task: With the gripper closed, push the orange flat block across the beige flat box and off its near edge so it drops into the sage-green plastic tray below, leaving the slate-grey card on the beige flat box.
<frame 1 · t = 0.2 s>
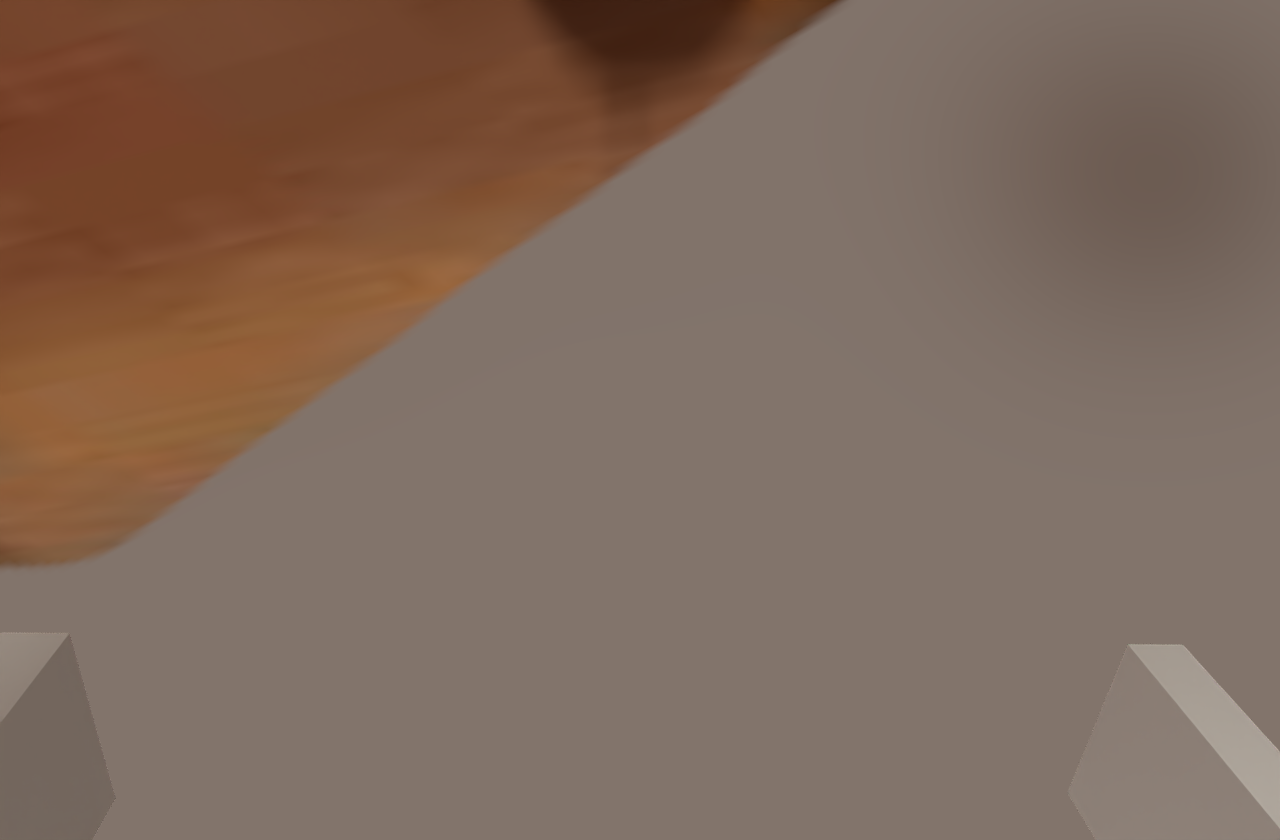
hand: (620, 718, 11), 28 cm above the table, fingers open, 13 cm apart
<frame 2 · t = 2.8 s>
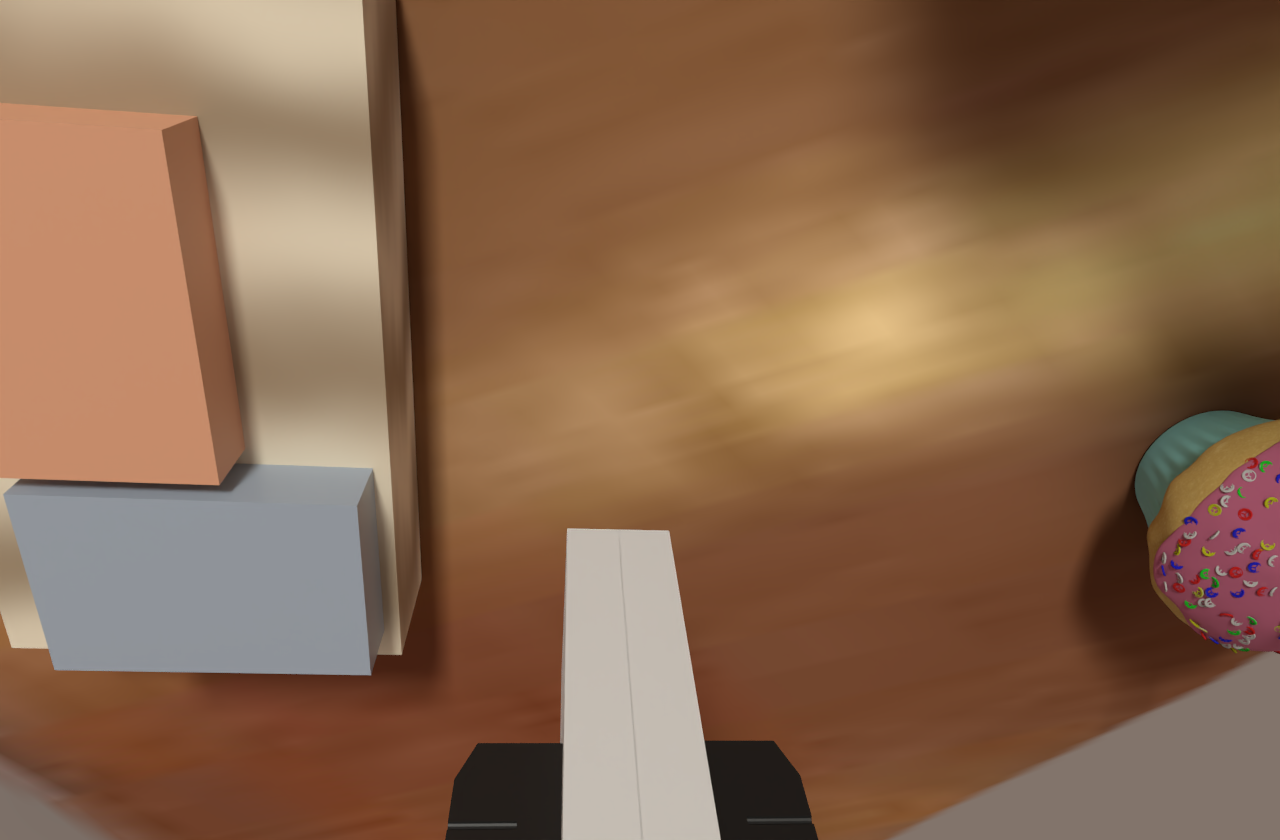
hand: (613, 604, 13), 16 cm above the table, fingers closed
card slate: (213, 569, 26), point 5 cm above the table, touching beige flat box
cupcake: (1198, 462, 32), on the table
orange flat block: (82, 304, 22), point 5 cm above the table, touching beige flat box
beige flat box: (212, 312, 27), on the table
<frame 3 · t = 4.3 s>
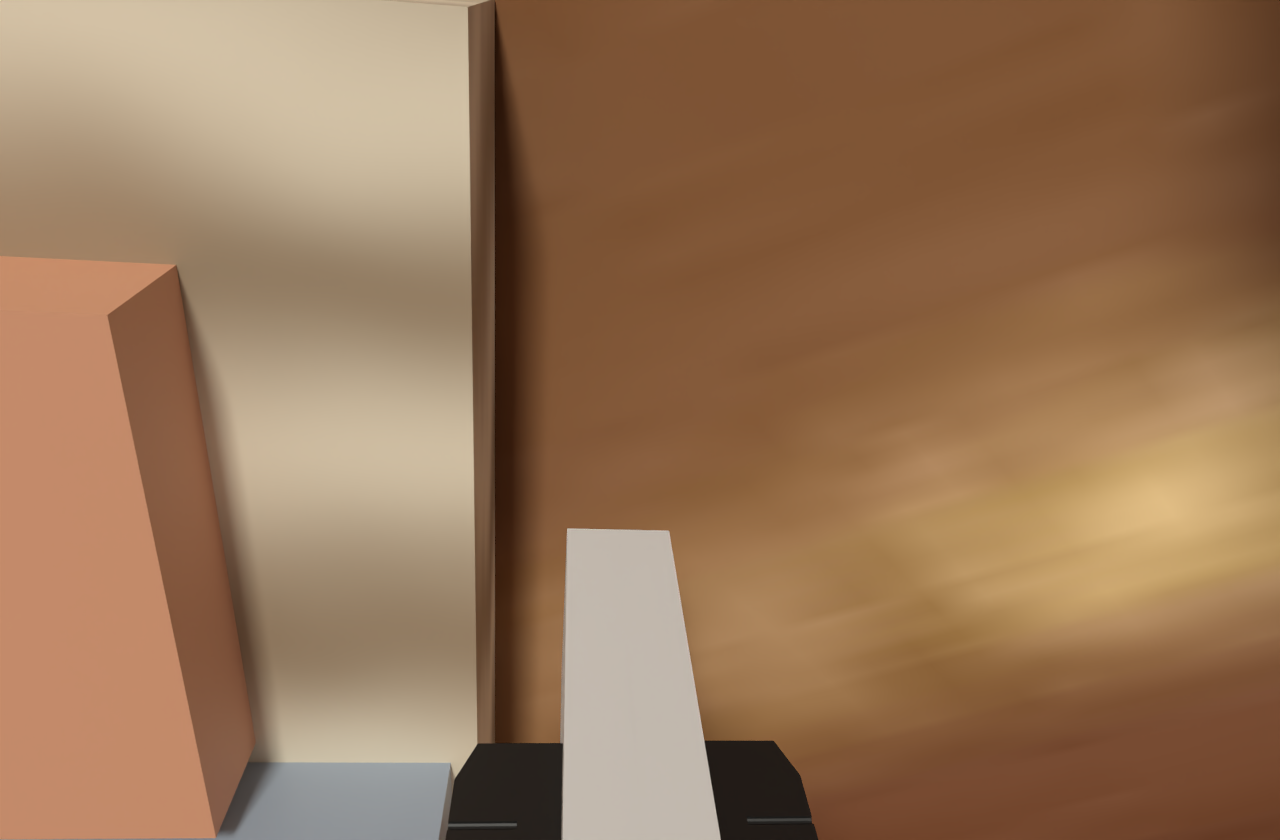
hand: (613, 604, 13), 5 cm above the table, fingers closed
beige flat box: (204, 505, 18), on the table
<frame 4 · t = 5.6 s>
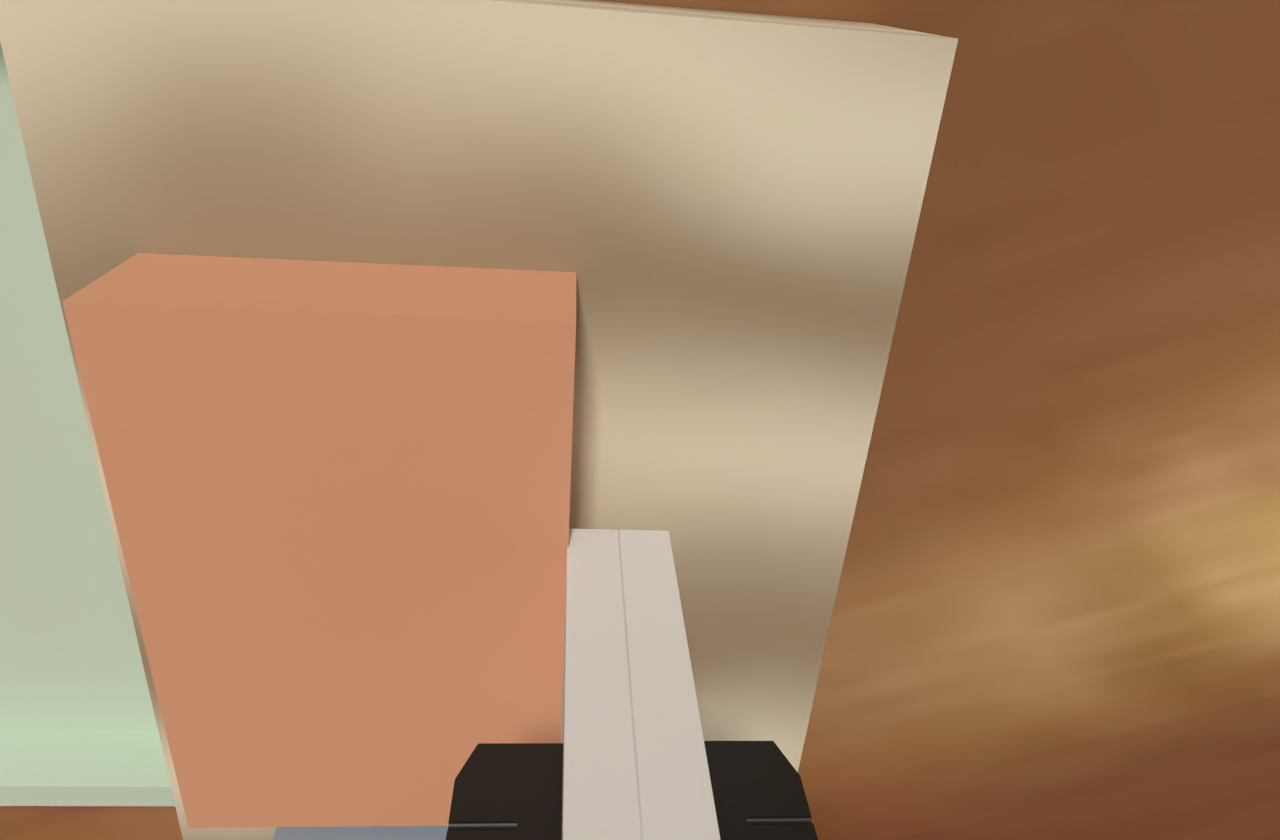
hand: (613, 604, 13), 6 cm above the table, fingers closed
orange flat block: (369, 568, 13), point 5 cm above the table, touching beige flat box, gripper
beige flat box: (508, 507, 19), on the table
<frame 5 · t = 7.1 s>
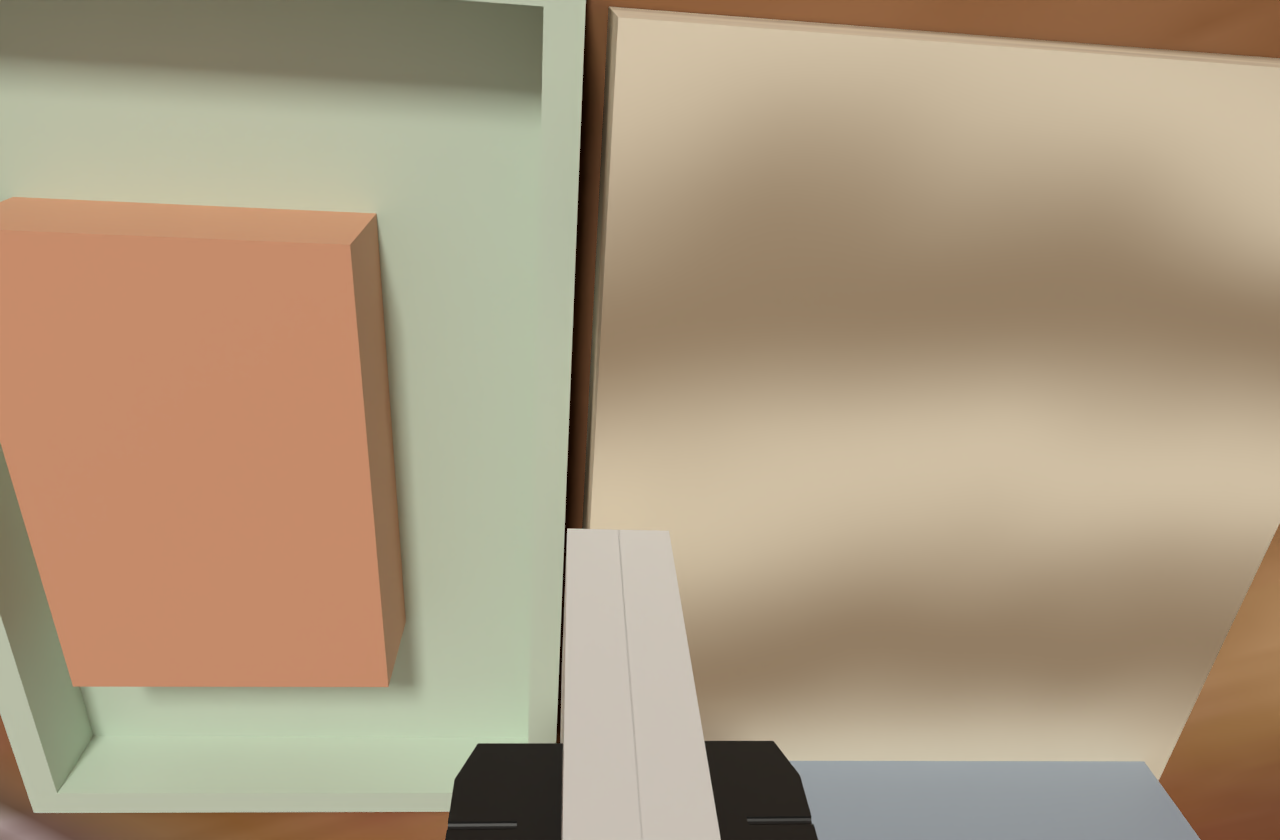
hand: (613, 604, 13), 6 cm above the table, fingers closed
tray: (288, 422, 18), on the table
orange flat block: (216, 462, 16), point 2 cm above the table, tilted 180°, touching tray
beige flat box: (852, 521, 20), on the table
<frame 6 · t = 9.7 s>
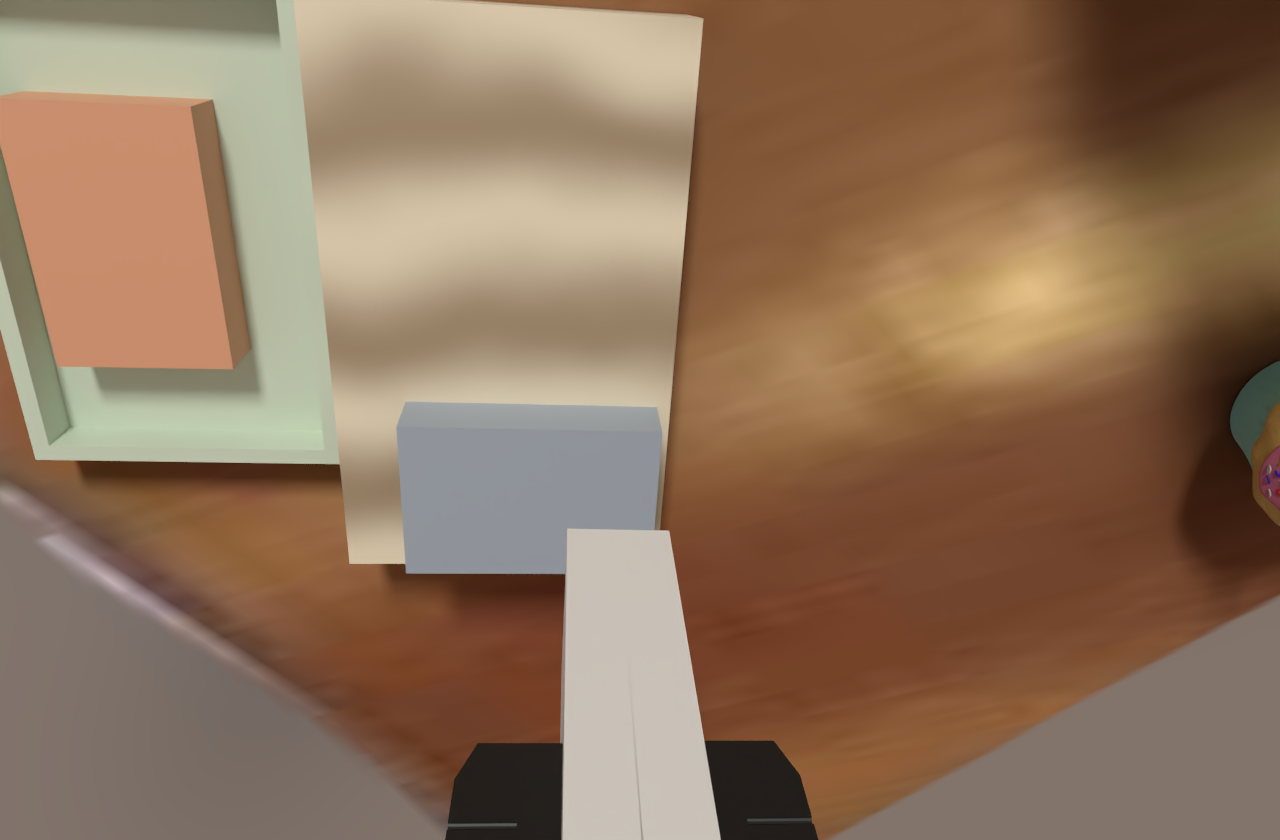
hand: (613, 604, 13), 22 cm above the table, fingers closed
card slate: (531, 490, 32), point 5 cm above the table, touching beige flat box
tray: (175, 224, 32), on the table
orange flat block: (132, 236, 30), point 2 cm above the table, tilted 180°, touching tray
beige flat box: (510, 289, 34), on the table
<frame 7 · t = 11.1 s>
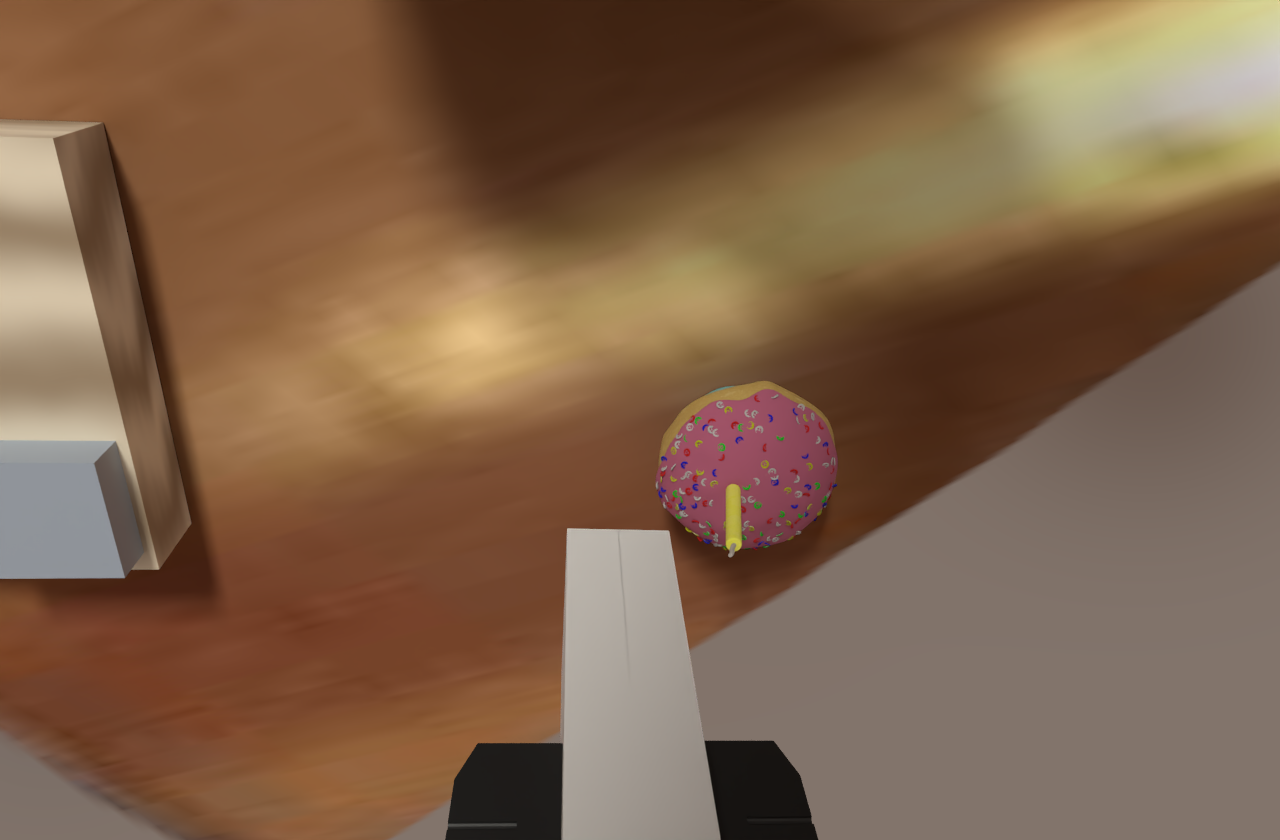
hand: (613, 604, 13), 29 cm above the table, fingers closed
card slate: (15, 510, 39), point 5 cm above the table, touching beige flat box
cupcake: (732, 423, 46), on the table
beige flat box: (17, 342, 41), on the table
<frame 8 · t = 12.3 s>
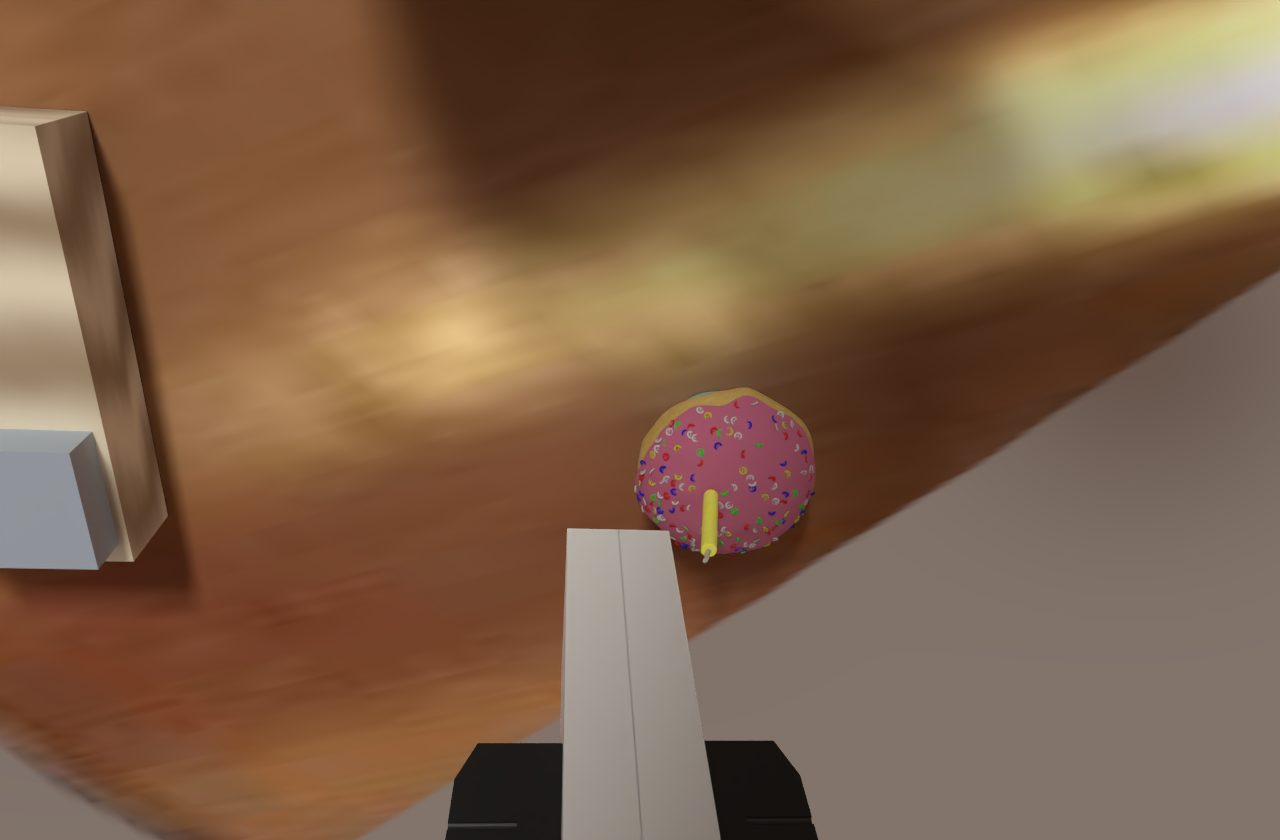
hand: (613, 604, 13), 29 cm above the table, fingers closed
cupcake: (713, 428, 46), on the table
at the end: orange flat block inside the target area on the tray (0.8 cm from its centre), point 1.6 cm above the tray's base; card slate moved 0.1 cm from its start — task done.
